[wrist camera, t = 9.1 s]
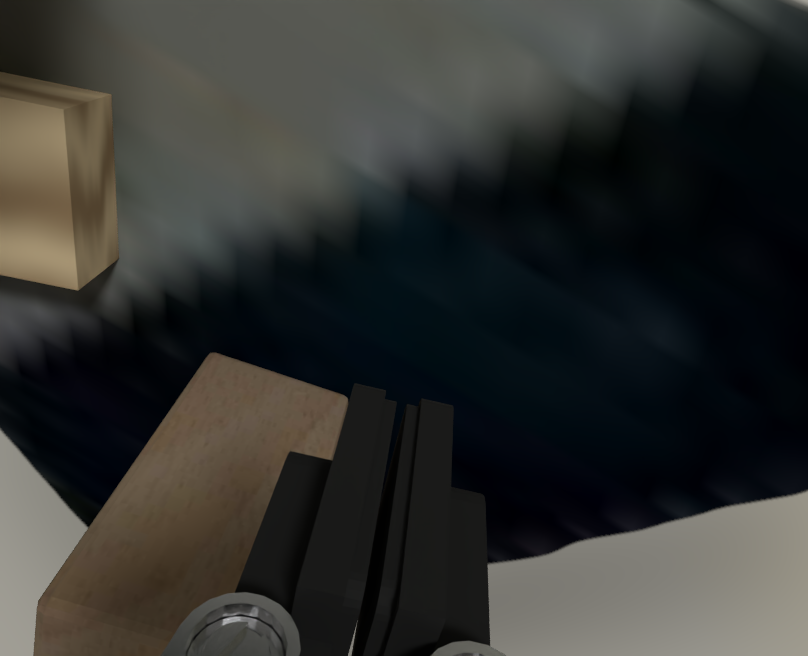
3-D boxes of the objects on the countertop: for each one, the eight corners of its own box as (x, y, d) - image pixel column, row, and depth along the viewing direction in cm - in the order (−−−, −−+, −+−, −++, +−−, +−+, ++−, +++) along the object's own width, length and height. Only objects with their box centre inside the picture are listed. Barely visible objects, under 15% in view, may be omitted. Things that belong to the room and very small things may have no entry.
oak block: (-46, 60, 35) (-119, 72, 31) (113, 93, 35) (63, 109, 31) (-20, 228, 40) (-79, 258, 36) (120, 257, 40) (78, 290, 36)
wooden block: (186, 454, 47) (23, 731, 30) (210, 347, 42) (31, 603, 25) (314, 494, 48) (227, 787, 31) (351, 394, 43) (273, 673, 26)
